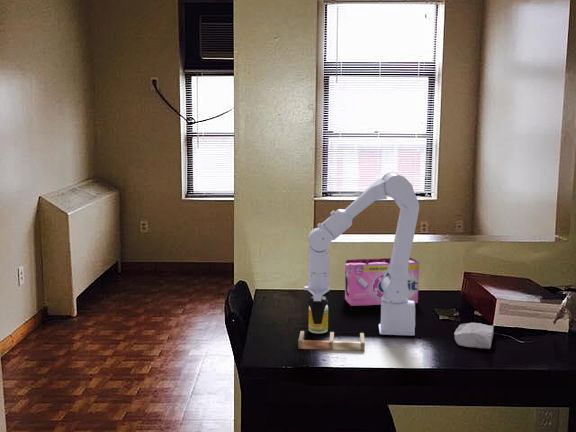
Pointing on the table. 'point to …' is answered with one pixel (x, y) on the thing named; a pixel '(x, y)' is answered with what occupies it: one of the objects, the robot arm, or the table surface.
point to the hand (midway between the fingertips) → (318, 319)
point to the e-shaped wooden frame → (331, 343)
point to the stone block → (474, 335)
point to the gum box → (374, 280)
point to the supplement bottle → (319, 327)
